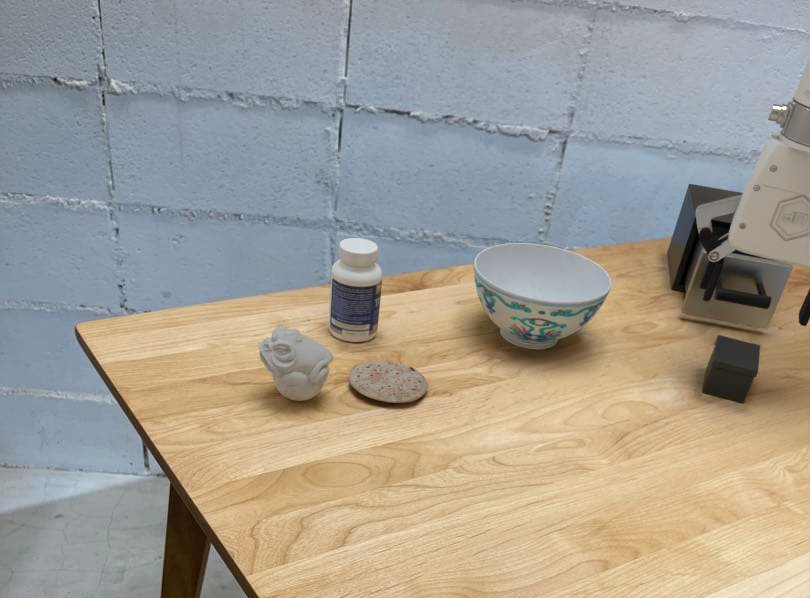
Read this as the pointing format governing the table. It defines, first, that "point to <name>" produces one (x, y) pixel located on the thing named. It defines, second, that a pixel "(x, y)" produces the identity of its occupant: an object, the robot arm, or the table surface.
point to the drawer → (735, 286)
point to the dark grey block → (731, 368)
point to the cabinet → (692, 228)
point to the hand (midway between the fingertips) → (753, 308)
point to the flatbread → (388, 382)
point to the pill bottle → (355, 291)
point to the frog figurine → (295, 363)
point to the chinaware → (538, 291)
